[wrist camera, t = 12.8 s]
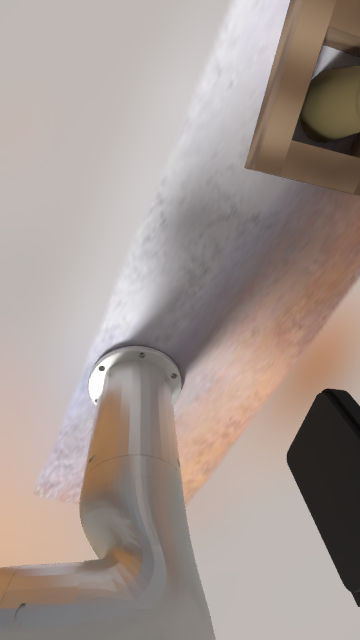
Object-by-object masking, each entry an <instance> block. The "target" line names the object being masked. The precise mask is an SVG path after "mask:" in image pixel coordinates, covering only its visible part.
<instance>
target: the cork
mask: <svg viewBox="0 0 360 640" xmlns="http://www.w3.org/2000/svg"><path fill="white" fill-rule="evenodd" d="M299 117H300V124H301V126H302V129H303V132H304V133H305V134H306V135H307V136H308V137H309V138H310V139H312V140H313V141H315V142H321V143H327V142H330V141H333V140H337V139H340V138H343V137H346V136H349V135H352V134H356V133H359V132H360V65H355V66H347V67H339V68H333V69H329V70H326V71H323V72H322V73H321V74H319V75H318V76H316V77H315V78H314V79H313V80H312V81H311V83H310V84H309V87H308V90H307V93H306V96H305V100H304V103H303V106H302V109H301V112H300V115H299Z"/></svg>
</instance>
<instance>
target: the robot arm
mask: <svg viewBox="0 0 360 640" xmlns="http://www.w3.org/2000/svg"><path fill="white" fill-rule="evenodd" d="M141 352H143V353H141ZM181 387H182V384H181V376H180V372H179V370H178V368H177V366H176V364H175V363H174V362H173V360H172V359H171V358H169V357H168V356H167V355H166V354H164V353H162V352H160V351H158V350H156V349H153V348H150V347H144V346H128V347H122V348H119V349H116V350H113V351H111V352H109V353H108V354H106V355H104V356H103V357H102V358H101V359H99V360H98V362H97V363H96V364H95V365H94V367H93V369H92V371H91V373H90V377H89V383H88V390H89V395H90V397H91V400H92V401H93V403H94V404H95V406H96V410H95V416H94V421H93V427H92V433H91V438H90V444H89V449H88V455H87V460H86V466H85V471H84V477H83V483H82V488H81V494H80V502H79V509H80V519H81V523H82V527H83V529H84V532H85V534H86V537H87V539H88V541H89V543H90V545H91V546H92V548H93V550H94V551H95V553H96V554H97V556H98V558H99V559H98V560H89V561H84V562H76V563H58V564H40V565H23V566H10V567H2V568H0V640H215V635H214V630H213V626H212V621H211V617H210V613H209V609H208V606H207V602H206V599H205V595H204V591H203V588H202V584H201V580H200V577H199V573H198V569H197V565H196V562H195V558H194V553H193V549H192V544H191V540H190V534H189V529H188V523H187V516H186V509H185V502H184V494H183V486H182V478H181V469H180V461H179V452H178V444H177V436H176V427H175V419H174V411H173V405H174V404H175V403H176V401H177V400H178V398H179V395H180V393H181ZM287 463H288V465H289V468H290V470H291V472H292V474H293V476H294V479H295V481H296V483H297V485H298V487H299V489H300V492H301V494H302V496H303V498H304V500H305V502H306V504H307V507H308V509H309V511H310V513H311V515H312V517H313V519H314V522H315V524H316V526H317V528H318V530H319V532H320V534H321V537H322V539H323V541H324V543H325V545H326V548H327V549H328V552H329V554H330V556H331V558H332V560H333V563H334V565H335V567H336V569H337V571H338V573H339V575H340V578H341V580H342V582H343V584H344V586H345V587H346V588H347V589H348V590H349V591H350V592H351V593H352V595H353V597H354V599H355V601H356V603H357V605H358V607H360V406H359V405H358V404H357V402H356V401H355V400H354V399H353V398H352V397H351V395H350V394H349V393H348V392H347V391H344V390H336V389H325V390H323V391H322V393H319V394H318V395H317V396H316V398H315V400H314V402H313V404H312V406H311V408H310V410H309V412H308V414H307V416H306V417H305V420H304V421H303V423H302V425H301V427H300V429H299V431H298V433H297V435H296V437H295V439H294V441H293V442H292V444H291V446H290V448H289V450H288V453H287Z"/></svg>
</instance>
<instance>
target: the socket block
mask: <svg viewBox="0 0 360 640" xmlns="http://www.w3.org/2000/svg"><path fill="white" fill-rule="evenodd" d="M322 44H323V45H326V46H329V47H332V48H335V49H338V50H341V51H344V52H347V53H350V54H353V55H355V56H358V57H360V0H290V4H289V8H288V11H287V15H286V19H285V22H284V26H283V30H282V33H281V37H280V41H279V44H278V48H277V51H276V55H275V59H274V62H273V66H272V70H271V73H270V77H269V81H268V84H267V88H266V92H265V95H264V99H263V103H262V106H261V110H260V114H259V117H258V121H257V125H256V128H255V132H254V136H253V139H252V143H251V147H250V150H249V154H248V158H247V161H246V165H245V168H247V169H251V170H255V171H259V172H263V173H268V174H272V175H276V176H280V177H284V178H288V179H293V180H297V181H301V182H305V183H309V184H313V185H318V186H322V187H326V188H330V189H334V190H338V191H343V192H347V193H351V194H355V195H360V132H359V133H357V136H356V138H355V141H354V143H353V145H352V148H351V150H350V153H349V155H346V154H342V153H338V152H335V151H331V150H327V149H323V148H320V147H316V146H312V145H308V144H304V143H301V142H297V141H293V140H292V137H293V134H294V131H295V127H296V124H297V121H298V118H299V115H300V112H301V109H302V106H303V103H304V100H305V96H306V93H307V90H308V87H309V84H310V81H311V78H312V75H313V72H314V69H315V65H316V62H317V59H318V56H319V53H320V50H321V47H322Z"/></svg>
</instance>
